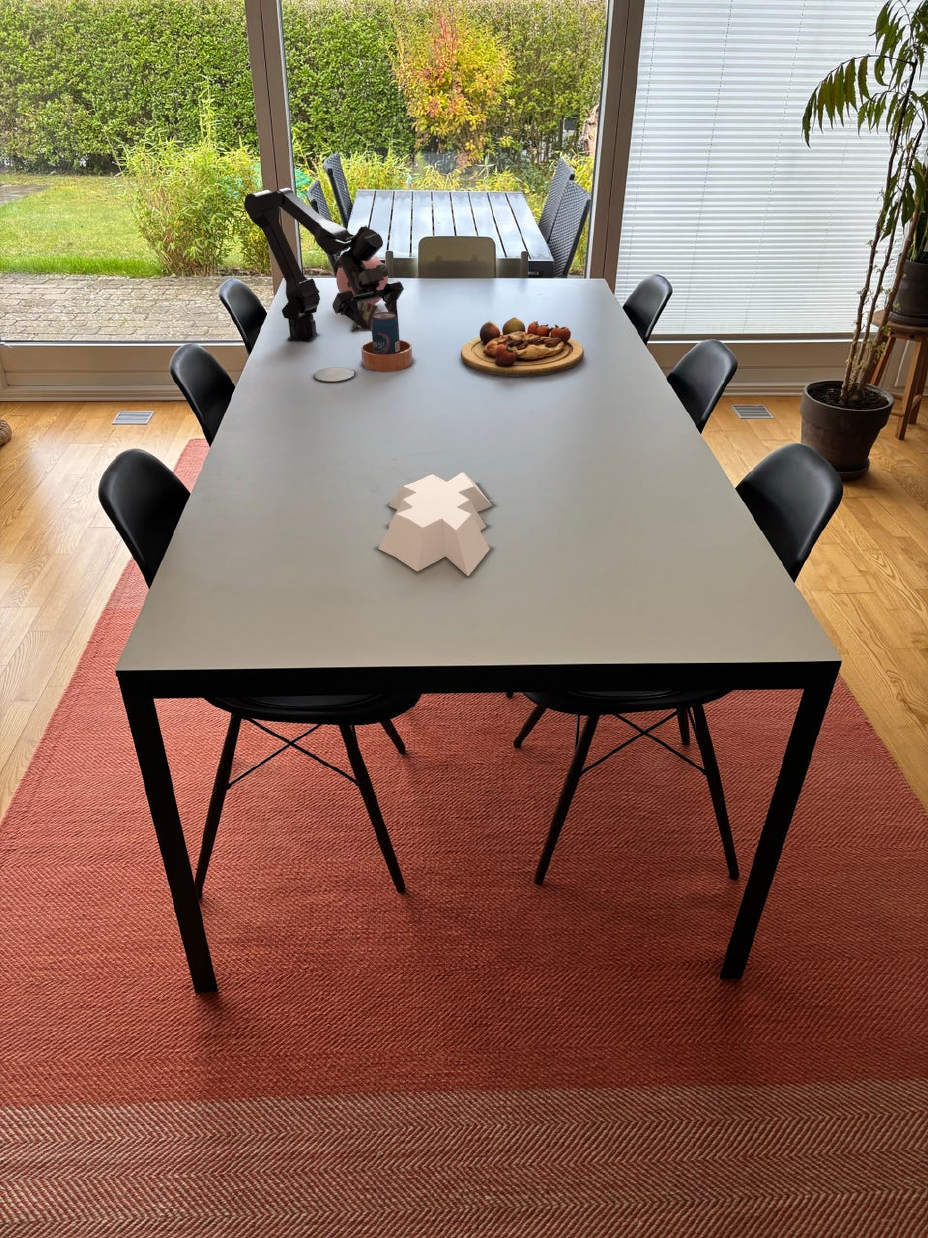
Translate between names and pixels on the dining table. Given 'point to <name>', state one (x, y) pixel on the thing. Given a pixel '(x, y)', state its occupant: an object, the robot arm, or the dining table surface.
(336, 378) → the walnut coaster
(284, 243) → the robot arm
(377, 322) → the soda can
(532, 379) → the dining table surface
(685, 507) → the dining table surface
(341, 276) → the balloon
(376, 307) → the chocolate cake
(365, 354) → the orange bowl
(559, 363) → the wooden plate
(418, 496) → the tapered cross block
